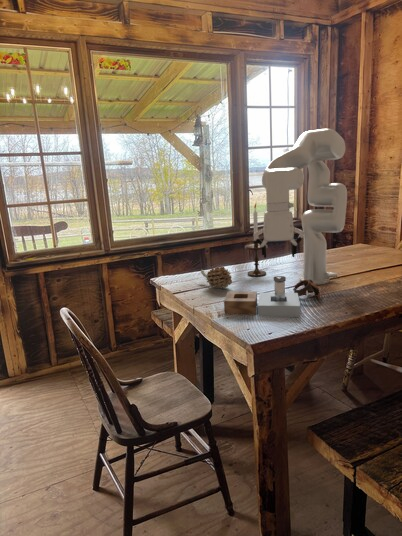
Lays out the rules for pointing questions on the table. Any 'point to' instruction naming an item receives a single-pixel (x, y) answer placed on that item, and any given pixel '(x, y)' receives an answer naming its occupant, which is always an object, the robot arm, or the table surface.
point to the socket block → (279, 305)
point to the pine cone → (218, 277)
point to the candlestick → (256, 248)
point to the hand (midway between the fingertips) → (279, 256)
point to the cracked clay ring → (307, 288)
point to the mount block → (240, 302)
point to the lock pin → (279, 288)
